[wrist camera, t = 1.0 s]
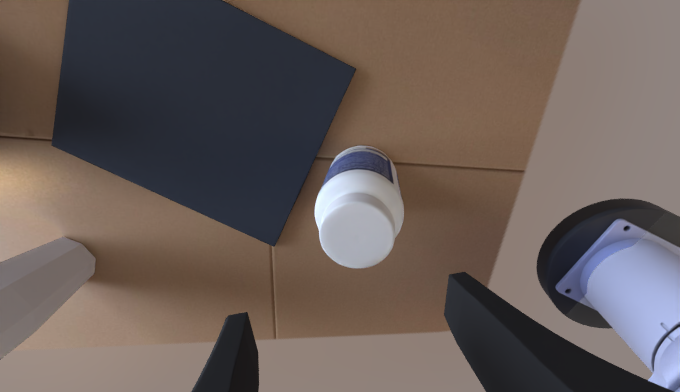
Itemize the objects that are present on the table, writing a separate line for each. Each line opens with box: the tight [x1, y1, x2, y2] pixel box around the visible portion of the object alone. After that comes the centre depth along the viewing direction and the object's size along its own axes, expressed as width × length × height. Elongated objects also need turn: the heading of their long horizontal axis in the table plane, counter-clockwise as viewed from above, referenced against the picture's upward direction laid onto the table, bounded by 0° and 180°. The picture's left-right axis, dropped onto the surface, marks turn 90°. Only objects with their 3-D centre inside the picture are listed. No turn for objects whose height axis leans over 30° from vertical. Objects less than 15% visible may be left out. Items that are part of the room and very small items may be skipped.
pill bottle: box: [315, 146, 404, 268], centre depth 22 cm, size 5×5×10 cm
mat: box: [52, 0, 356, 246], centre depth 26 cm, size 20×16×1 cm
